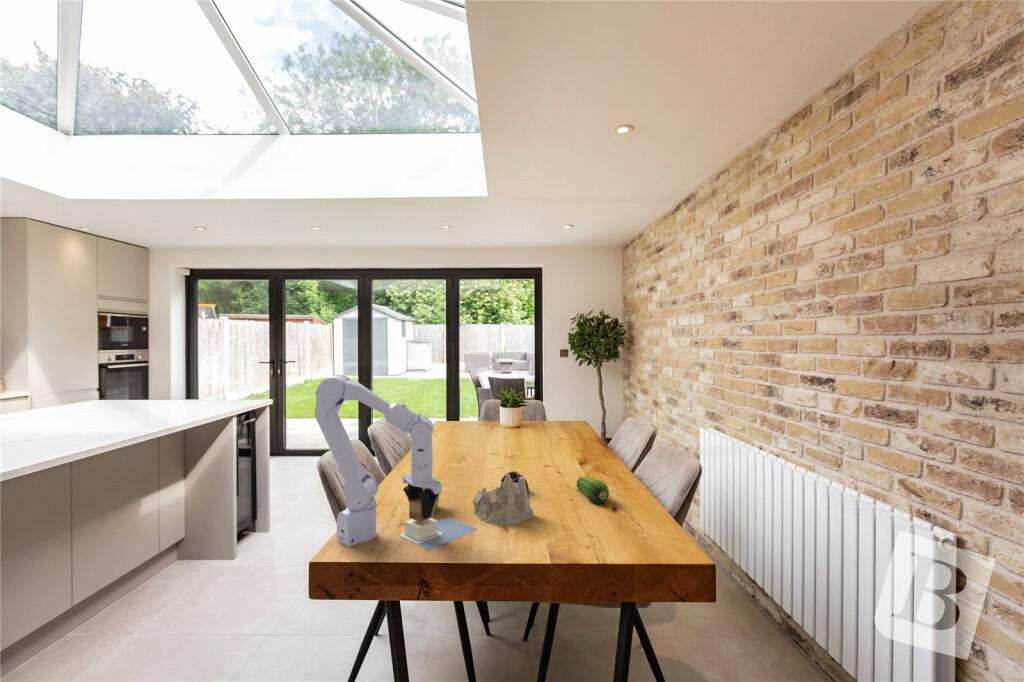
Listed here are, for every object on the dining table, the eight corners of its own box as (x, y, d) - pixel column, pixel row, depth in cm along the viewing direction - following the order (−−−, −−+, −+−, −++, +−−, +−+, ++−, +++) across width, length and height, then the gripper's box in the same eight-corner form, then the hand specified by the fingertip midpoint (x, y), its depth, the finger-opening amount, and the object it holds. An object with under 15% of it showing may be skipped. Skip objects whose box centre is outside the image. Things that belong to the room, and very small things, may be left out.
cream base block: (419, 541, 113) (419, 527, 113) (405, 534, 116) (405, 521, 117) (437, 533, 117) (437, 520, 117) (423, 527, 121) (423, 515, 121)
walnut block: (419, 522, 114) (419, 504, 114) (409, 517, 117) (409, 500, 117) (433, 517, 117) (433, 500, 117) (422, 512, 120) (422, 496, 120)
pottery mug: (533, 497, 151) (523, 478, 149) (508, 509, 151) (498, 490, 149) (527, 478, 163) (518, 460, 160) (504, 489, 163) (495, 472, 160)
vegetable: (597, 480, 141) (576, 465, 160) (587, 501, 140) (567, 483, 159) (616, 489, 142) (593, 473, 161) (606, 510, 141) (584, 491, 160)
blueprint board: (429, 554, 107) (429, 549, 107) (398, 539, 116) (398, 535, 116) (478, 532, 120) (478, 528, 120) (447, 520, 129) (447, 516, 129)
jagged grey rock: (542, 517, 131) (538, 467, 132) (500, 535, 120) (497, 480, 120) (507, 507, 142) (504, 460, 143) (466, 522, 131) (463, 472, 132)
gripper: (450, 465, 115) (450, 517, 115) (417, 456, 125) (416, 504, 125) (429, 471, 110) (429, 525, 110) (396, 461, 120) (395, 511, 119)
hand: (421, 514), depth 117 cm, fingers closed on walnut block, 4 cm apart
